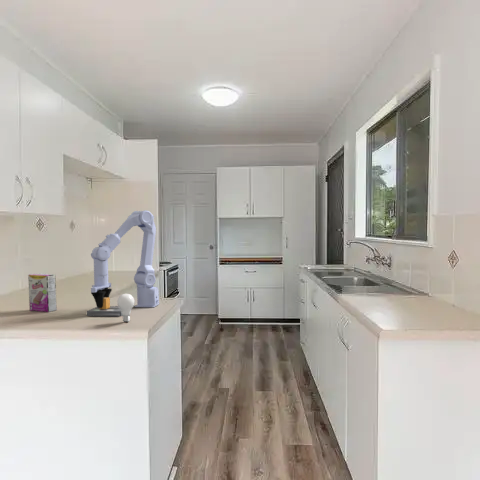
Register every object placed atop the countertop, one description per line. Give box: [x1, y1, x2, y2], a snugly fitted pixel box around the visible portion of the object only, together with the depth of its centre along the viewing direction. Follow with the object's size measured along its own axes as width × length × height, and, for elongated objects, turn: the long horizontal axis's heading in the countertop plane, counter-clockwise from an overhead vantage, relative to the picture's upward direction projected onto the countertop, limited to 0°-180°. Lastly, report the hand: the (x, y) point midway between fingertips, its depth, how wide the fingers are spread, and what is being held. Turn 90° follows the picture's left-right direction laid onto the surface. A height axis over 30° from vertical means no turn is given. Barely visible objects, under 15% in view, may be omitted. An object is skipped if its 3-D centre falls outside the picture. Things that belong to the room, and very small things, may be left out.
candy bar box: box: [27, 273, 57, 313], centre depth 174 cm, size 11×5×16 cm, turn 71°
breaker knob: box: [100, 296, 111, 309], centre depth 166 cm, size 3×4×4 cm
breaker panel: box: [86, 305, 123, 317], centre depth 166 cm, size 15×10×2 cm, turn 83°
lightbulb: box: [116, 293, 135, 323], centre depth 149 cm, size 6×6×11 cm
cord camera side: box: [90, 313, 121, 318], centre depth 160 cm, size 13×1×1 cm, turn 83°
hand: (102, 306), depth 166 cm, fingers closed on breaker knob, 3 cm apart
